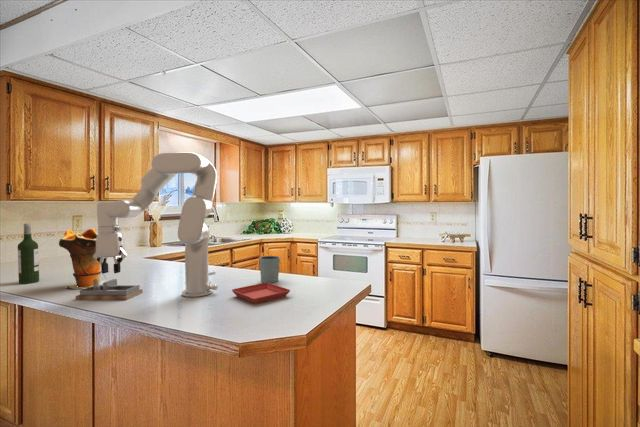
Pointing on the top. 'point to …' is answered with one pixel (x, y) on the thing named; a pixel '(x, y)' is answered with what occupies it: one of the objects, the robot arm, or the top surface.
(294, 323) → the top surface
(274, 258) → the grey green bin
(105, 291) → the grey rectangular tray
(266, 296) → the plant saucer
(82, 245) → the decorative vase
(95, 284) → the keeper
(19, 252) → the wine bottle
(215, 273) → the adjustable wrench
